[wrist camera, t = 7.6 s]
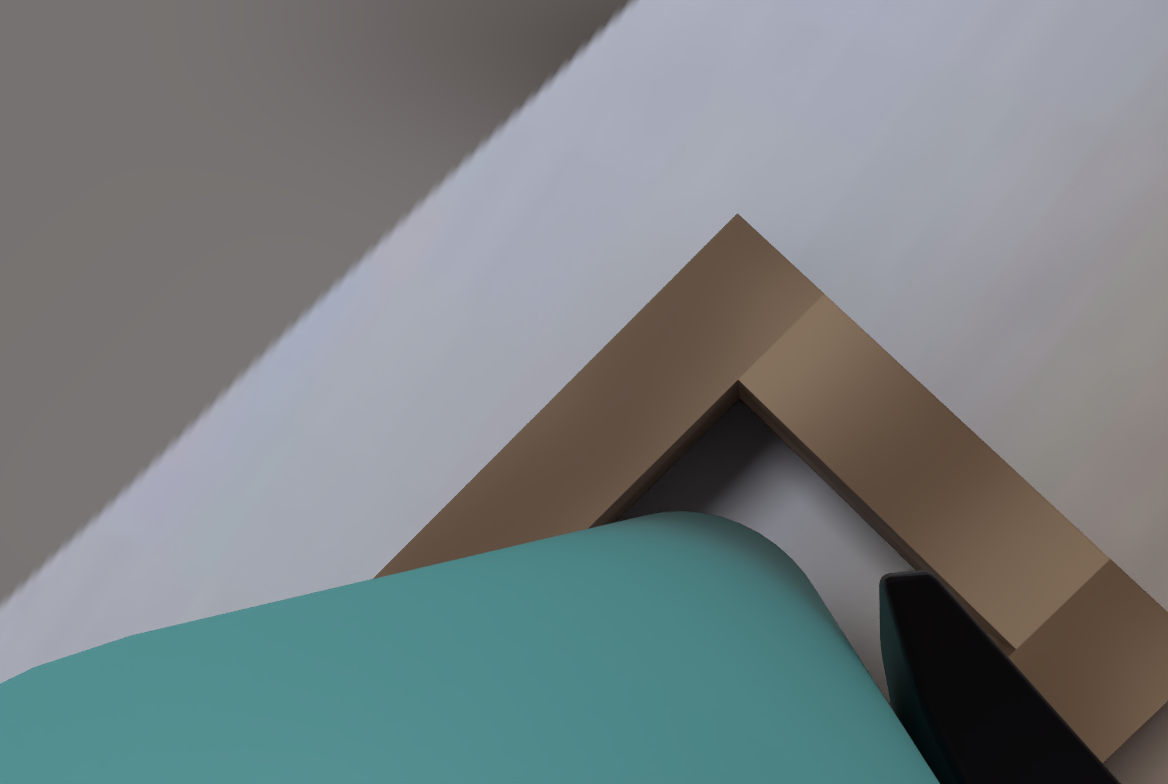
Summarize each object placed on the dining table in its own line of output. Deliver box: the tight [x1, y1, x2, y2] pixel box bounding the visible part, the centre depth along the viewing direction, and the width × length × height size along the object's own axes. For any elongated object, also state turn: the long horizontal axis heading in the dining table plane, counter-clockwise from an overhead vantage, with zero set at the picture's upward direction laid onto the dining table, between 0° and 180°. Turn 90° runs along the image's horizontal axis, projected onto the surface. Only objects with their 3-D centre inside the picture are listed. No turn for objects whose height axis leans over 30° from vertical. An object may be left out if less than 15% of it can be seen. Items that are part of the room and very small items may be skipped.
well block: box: [373, 213, 1168, 763], centre depth 20 cm, size 11×11×4 cm
